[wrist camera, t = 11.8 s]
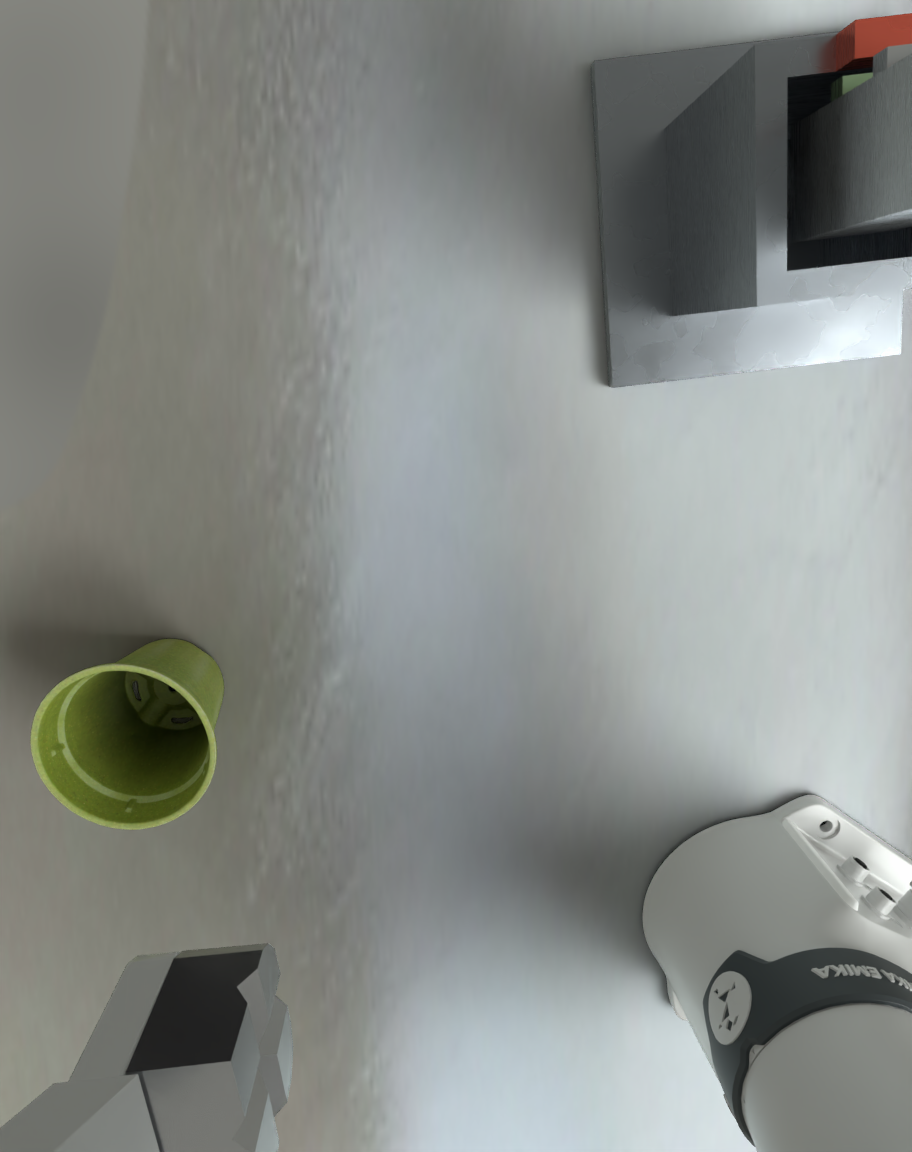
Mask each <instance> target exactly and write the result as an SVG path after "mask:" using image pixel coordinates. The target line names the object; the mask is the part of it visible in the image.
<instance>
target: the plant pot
mask: <svg viewBox="0 0 912 1152" xmlns="http://www.w3.org/2000/svg"><path fill="white" fill-rule="evenodd" d="M134 681H137V682H138V691H139V695H140V697H141V701H139V700H137V699H136V697H135V695H134V691H133V687H132V684H133V682H134ZM169 686H171V687H172V688H174V689H175V690H176V691H170V689H169ZM223 695H224V681H223V677H222V674H221V671H220V669H219V667H218V665H217V664H216V662H215V661H214V659H213V658H212V657H211V656H209V655H208V654H206V653H205V652H203V651H202V650H200V649H199V648H197V647H196V646H194V645H193V644H192V643H189V642H187V641H184V640H178V639H162V640H157V641H154V642H151V643H149V644H147V645H145V646H143V647H141V648H139V649H137V650H136V651H134V652H133V653H131V654H129V655H128V656H126V657H124V658H123V659H121V660H119V661H117V662H116V663H108V664H101V665H97V666H93V667H89V668H86V669H84V670H81V671H79V672H76V673H74V674H72V675H71V676H69V677H67V678H66V679H64V680H63V681H61V682H60V683H59V684H57V685H56V686H55V687H54V688H53V689H52V690H51V691H50V692H49V693H48V694H47V695H46V697H45V698H44V699H43V701H42V702H41V704H40V705H39V707H38V709H37V711H36V714H35V716H34V719H33V723H32V728H31V738H30V744H31V753H32V757H33V761H34V764H35V767H36V770H37V772H38V774H39V776H40V778H41V780H42V781H43V783H44V784H45V786H46V787H47V788H48V790H49V791H50V792H51V793H52V794H53V795H54V797H55V798H56V799H57V800H58V801H59V802H60V803H62V804H63V805H64V806H65V807H67V808H68V809H69V810H71V811H72V812H74V813H75V814H77V815H78V816H80V817H82V818H84V819H86V820H89V821H91V822H94V823H96V824H99V825H102V826H106V827H111V828H116V829H128V830H139V829H146V828H151V827H156V826H160V825H163V824H166V823H168V822H170V821H172V820H174V819H176V818H178V817H180V816H181V815H183V814H184V813H186V812H187V811H188V810H190V809H191V808H192V807H193V806H194V805H195V804H196V803H197V802H198V801H199V800H200V799H201V797H202V796H203V794H204V793H205V791H206V790H207V788H208V786H209V784H210V782H211V779H212V777H213V774H214V771H215V766H216V759H217V745H216V738H215V734H214V729H215V725H216V722H217V718H218V715H219V711H220V707H221V704H222V700H223ZM186 717H188V718H189V717H193V718H192V720H190V721H188V722H185V723H174V722H172V721H171V719H172V718H186Z"/></svg>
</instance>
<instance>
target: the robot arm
mask: <svg viewBox="0 0 912 1152" xmlns="http://www.w3.org/2000/svg"><path fill="white" fill-rule="evenodd" d="M824 821H827V822H826V824H824V825H822V826H820V824H821V823H822V822H824ZM643 929H644V934H645V938H646V941H647V943H648V946H649V948H650V950H651V952H652V954H653V955H654V957H655V958H656V960H657V961H658V963H659V964H660V966H661V968H662V969H663V971H664V973H665V975H666V977H667V988H668V996H669V1000H670V1003H671V1005H672V1007H673V1009H674V1011H675V1013H676V1014H677V1016H678V1017H679V1018H681V1019H683V1020H685V1021H688V1022H689V1024H690V1026H691V1027H692V1029H693V1031H694V1033H695V1035H696V1037H697V1039H698V1041H699V1043H700V1045H701V1047H702V1049H703V1051H704V1053H705V1055H706V1057H707V1059H708V1061H709V1063H710V1065H711V1067H712V1068H713V1070H714V1072H715V1074H716V1076H717V1078H718V1080H719V1081H720V1083H721V1086H722V1088H723V1091H724V1093H725V1094H724V1095H723V1096H724V1098H725V1100H726V1103H727V1105H728V1107H729V1109H730V1111H731V1113H732V1114H733V1116H734V1117H735V1119H736V1121H737V1123H738V1125H739V1127H740V1129H741V1131H742V1132H743V1134H744V1135H745V1137H746V1138H747V1139H748V1140H749V1141H750V1143H751V1144H752V1145H753V1146H755V1147H756V1150H757V1152H912V860H911V859H909V858H908V857H906V856H905V855H903V854H902V853H901V852H899V851H898V850H896V849H895V848H893V847H892V846H890V845H889V844H888V843H886V842H885V841H883V840H882V839H880V838H879V837H877V836H876V835H875V834H873V833H872V832H870V831H869V830H867V829H866V828H864V827H863V826H862V825H860V824H859V823H857V822H856V821H854V820H853V819H851V818H850V817H849V816H847V815H846V814H844V813H843V812H841V811H840V810H838V809H837V808H836V807H834V806H833V805H831V804H830V803H828V802H827V801H825V800H824V799H822V798H821V797H819V796H816V795H805V796H802V797H799V798H796V799H794V800H792V801H790V802H788V803H786V804H784V805H782V806H781V807H779V808H777V809H775V810H774V811H772V812H769V813H766V814H762V815H757V816H751V817H744V818H738V819H734V820H729V821H726V822H723V823H720V824H717V825H714V826H712V827H709V828H707V829H705V830H703V831H701V832H699V833H697V834H696V835H694V836H692V837H691V838H689V839H688V840H686V841H685V842H684V843H682V844H681V845H680V846H679V847H678V848H676V849H675V850H674V851H673V852H672V853H671V854H670V855H669V856H668V857H667V858H666V860H665V861H664V862H663V863H662V865H661V866H660V867H659V869H658V870H657V872H656V873H655V875H654V877H653V879H652V881H651V883H650V885H649V887H648V890H647V893H646V896H645V900H644V905H643ZM279 977H280V969H279V965H278V961H277V957H276V953H275V949H274V948H273V947H272V946H271V945H270V944H269V943H266V944H254V945H243V946H232V947H221V948H209V949H198V950H187V951H182V952H172V953H161V954H151V955H141V956H137V957H135V958H134V959H133V960H132V961H130V962H129V963H128V964H127V966H126V967H125V969H124V971H123V973H122V975H121V977H120V979H119V981H118V983H117V985H116V987H115V989H114V991H113V993H112V995H111V997H110V999H109V1001H108V1003H107V1005H106V1007H105V1009H104V1011H103V1013H102V1015H101V1017H100V1019H99V1021H98V1023H97V1025H96V1027H95V1029H94V1031H93V1033H92V1035H91V1037H90V1039H89V1041H88V1043H87V1045H86V1047H85V1049H84V1051H83V1053H82V1055H81V1057H80V1059H79V1061H78V1063H77V1065H76V1067H75V1069H74V1071H73V1073H72V1075H71V1077H70V1079H69V1081H68V1082H62V1083H54V1084H53V1085H51V1086H50V1087H49V1088H48V1089H47V1090H45V1091H44V1092H43V1093H42V1094H41V1095H39V1096H38V1097H37V1098H36V1099H35V1100H33V1101H32V1102H31V1103H30V1104H29V1105H27V1106H26V1107H25V1108H24V1109H23V1110H21V1111H20V1112H19V1113H18V1114H17V1115H15V1116H14V1117H13V1118H12V1119H11V1120H9V1121H8V1122H7V1123H6V1124H5V1125H3V1126H2V1127H1V1128H0V1152H277V1151H278V1146H279V1139H278V1134H277V1129H276V1125H275V1120H274V1117H275V1115H276V1114H277V1113H278V1112H279V1111H280V1110H281V1109H282V1107H283V1106H284V1105H285V1104H286V1103H287V1100H288V1094H289V1089H290V1083H291V1077H292V1058H293V1041H292V1029H291V1021H290V1016H289V1011H288V1006H287V1005H286V1004H285V1003H284V1002H283V1001H281V1000H280V999H279V998H278V997H277V996H276V995H275V994H276V990H277V986H278V981H279Z"/></svg>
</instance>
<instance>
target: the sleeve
mask: <svg viewBox="0 0 912 1152" xmlns="http://www.w3.org/2000/svg"><path fill="white" fill-rule="evenodd" d="M905 44H912V13H910V14H902V15H893V16H885V17H876V18H868V19H859V20H855V21H853V22H852V23H851V24H850V25H848V26H847V27H846V28H844V29H843V30H842V31H840V32H833V33H824V34H816V35H807V36H799V37H790V38H782V39H773V40H765V41H757V42H748V43H740V44H731V45H723V46H714V47H706V48H697V49H689V50H681V51H672V52H664V53H655V54H647V55H638V56H630V57H622V58H613V59H605V60H596V61H594V62H593V64H592V66H591V83H592V100H593V118H594V135H595V152H596V170H597V187H598V204H599V222H600V239H601V256H602V274H603V291H604V308H605V325H606V343H607V360H608V377H609V387H612V388H615V387H623V386H632V385H640V384H649V383H658V382H666V381H675V380H683V379H692V378H701V377H709V376H718V375H726V374H735V373H744V372H752V371H761V370H769V369H778V368H787V367H795V366H804V365H812V364H821V363H829V362H838V361H847V360H855V359H864V358H872V357H881V356H890V355H898V354H901V336H902V311H903V289H912V226H911V227H907V228H903V229H899V230H895V231H887V232H878V233H870V234H861V235H853V236H844V237H836V238H827V239H818V240H810V241H801V242H793V243H791V126H793V125H794V124H796V123H798V122H799V121H801V120H803V119H804V118H806V117H808V116H809V115H811V114H813V113H814V112H816V111H817V110H819V109H821V108H822V107H824V106H826V105H827V104H829V103H831V83H833V82H834V81H836V80H837V79H839V78H840V77H842V76H847V75H855V74H864V73H872V72H873V56H874V55H876V54H877V53H879V52H880V51H882V50H883V49H885V48H886V47H888V46H897V45H905Z"/></svg>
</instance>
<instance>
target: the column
mask: <svg viewBox="0 0 912 1152" xmlns="http://www.w3.org/2000/svg"><path fill="white" fill-rule="evenodd" d="M911 226H912V44H905V45H897V46H888V47H886V48H885V49H883V50H882V51H880V52H879V53H877V54H876V55H874V56H873V72H872V73H864V74H855V75H847V76H842V77H840V78H839V79H837V80H836V81H834V82H833V83H831V103H829V104H827V105H826V106H824V107H822V108H821V109H819V110H817V111H816V112H814V113H813V114H811V115H809V116H808V117H806V118H804V119H803V120H801V121H799V122H798V123H796V124H794V125H793V126H791V243H793V242H801V241H810V240H818V239H827V238H836V237H844V236H853V235H861V234H870V233H878V232H887V231H895V230H899V229H903V228H907V227H911Z"/></svg>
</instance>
